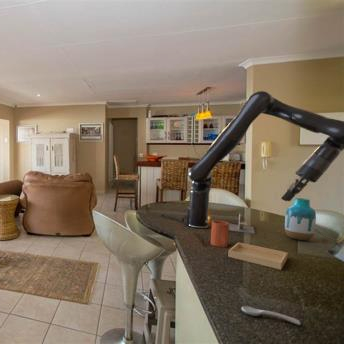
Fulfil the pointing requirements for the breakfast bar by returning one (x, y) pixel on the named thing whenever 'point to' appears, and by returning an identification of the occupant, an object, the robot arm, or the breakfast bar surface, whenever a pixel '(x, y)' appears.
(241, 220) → the architectural model
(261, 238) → the breakfast bar surface
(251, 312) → the spoon
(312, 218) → the vase
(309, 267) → the breakfast bar surface
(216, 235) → the cup
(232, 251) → the tray
